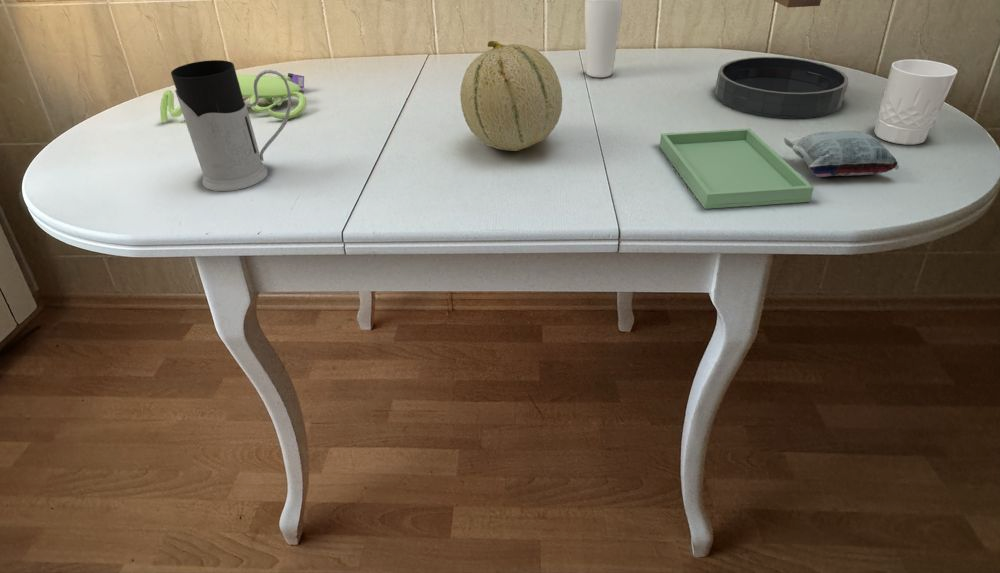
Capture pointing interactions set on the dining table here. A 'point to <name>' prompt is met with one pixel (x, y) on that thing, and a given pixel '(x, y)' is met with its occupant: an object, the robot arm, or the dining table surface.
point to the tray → (733, 169)
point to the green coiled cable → (265, 89)
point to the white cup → (913, 100)
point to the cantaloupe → (511, 97)
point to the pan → (781, 87)
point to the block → (798, 3)
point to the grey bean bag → (842, 153)
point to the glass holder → (222, 124)
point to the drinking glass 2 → (601, 35)
